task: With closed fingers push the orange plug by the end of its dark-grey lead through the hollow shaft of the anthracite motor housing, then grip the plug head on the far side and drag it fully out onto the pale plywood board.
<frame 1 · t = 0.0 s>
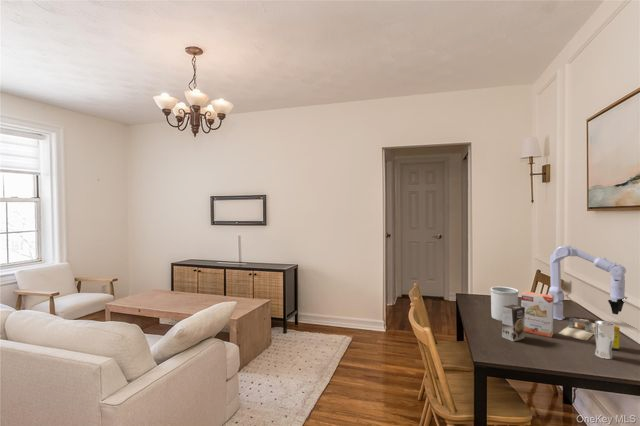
hand: (616, 312, 181), 10 cm above the table, fingers open, 7 cm apart
supplement box: (608, 347, 161), on the table
board: (581, 329, 183), on the table
beer glass: (603, 356, 151), on the table
coffee box: (513, 338, 171), on the table
utensil holder: (503, 318, 201), on the table
housing: (579, 329, 183), resting on board
plug: (582, 326, 187), resting on board
cracker box: (536, 333, 178), on the table
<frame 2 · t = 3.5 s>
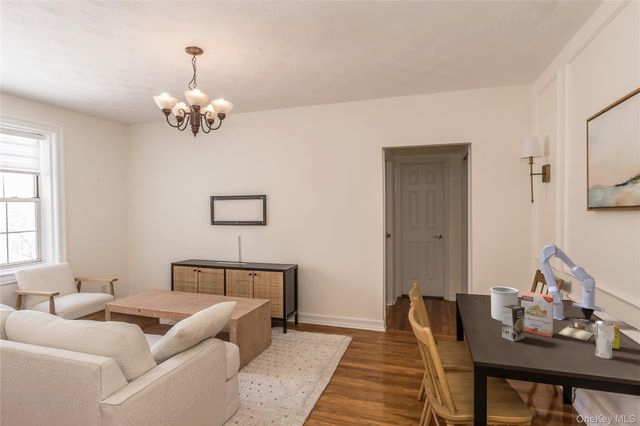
hand: (587, 321, 193), 1 cm above the table, fingers closed, pressing on plug
plug: (582, 326, 187), resting on board, touching gripper
everything else where it was.
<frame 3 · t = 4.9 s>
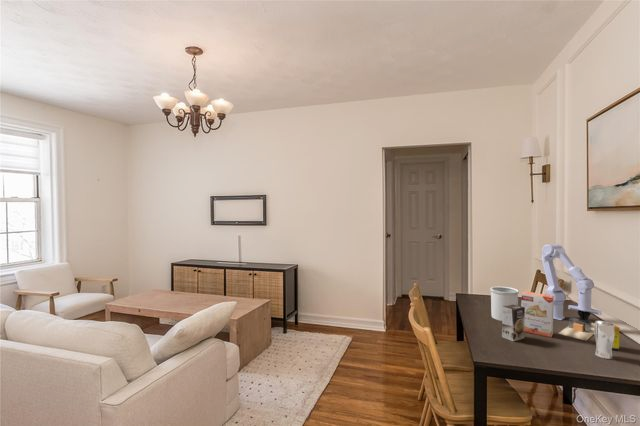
hand: (584, 324, 188), 1 cm above the table, fingers closed, pressing on plug
plug: (578, 329, 182), resting on board, touching gripper
everything else where it was.
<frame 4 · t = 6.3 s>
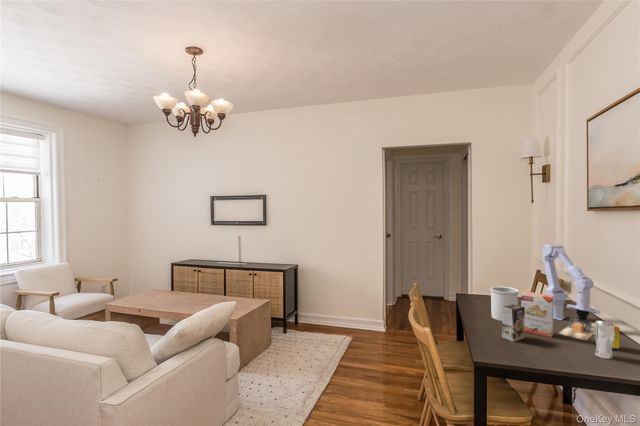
hand: (582, 323, 187), 2 cm above the table, fingers closed
plug: (577, 330, 181), resting on board
everything else where it was.
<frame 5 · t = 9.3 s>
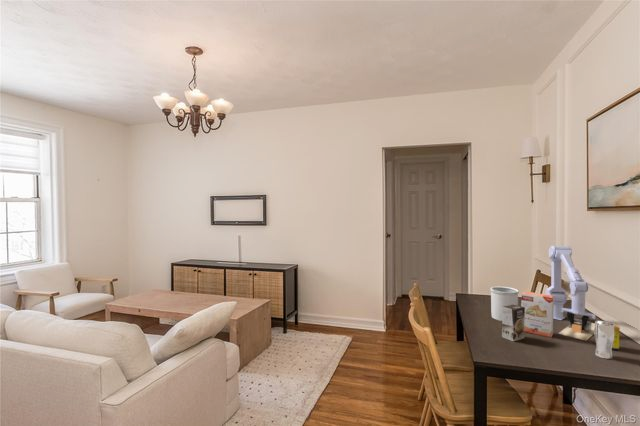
hand: (577, 328, 181), 2 cm above the table, fingers closed on plug, 4 cm apart
plug: (577, 330, 181), resting on board, touching gripper
everything else where it was.
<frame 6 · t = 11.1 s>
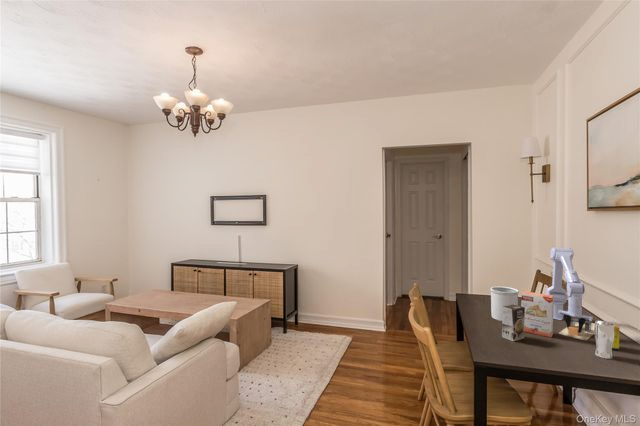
hand: (574, 330, 177), 2 cm above the table, fingers closed on plug, 4 cm apart
plug: (574, 333, 177), resting on board, touching gripper
everything else where it was.
when the fingers open (2 cm above the table, at t = 12.7 s): plug stays where it is, resting on board.
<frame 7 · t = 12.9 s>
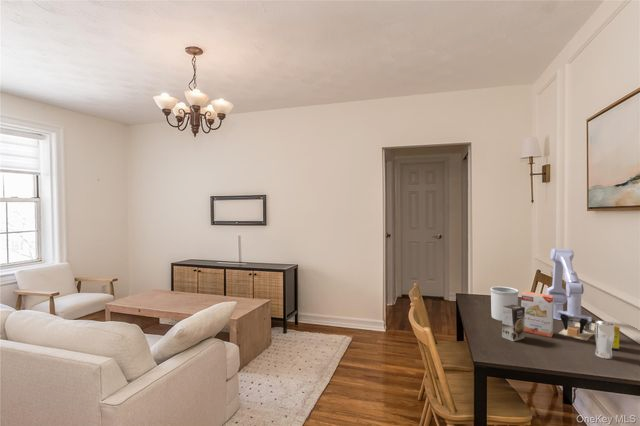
hand: (573, 331, 176), 2 cm above the table, fingers open, 6 cm apart
plug: (573, 334, 176), resting on board
everything else where it was.
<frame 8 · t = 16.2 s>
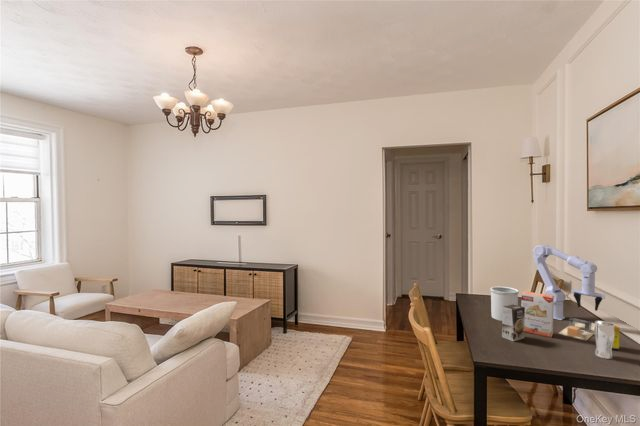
hand: (587, 308, 189), 10 cm above the table, fingers open, 7 cm apart
nothing on the table moved.
at the end: plug inside the target area (0.1 cm from its centre), resting on board; plug touching board; the gripper is holding nothing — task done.
